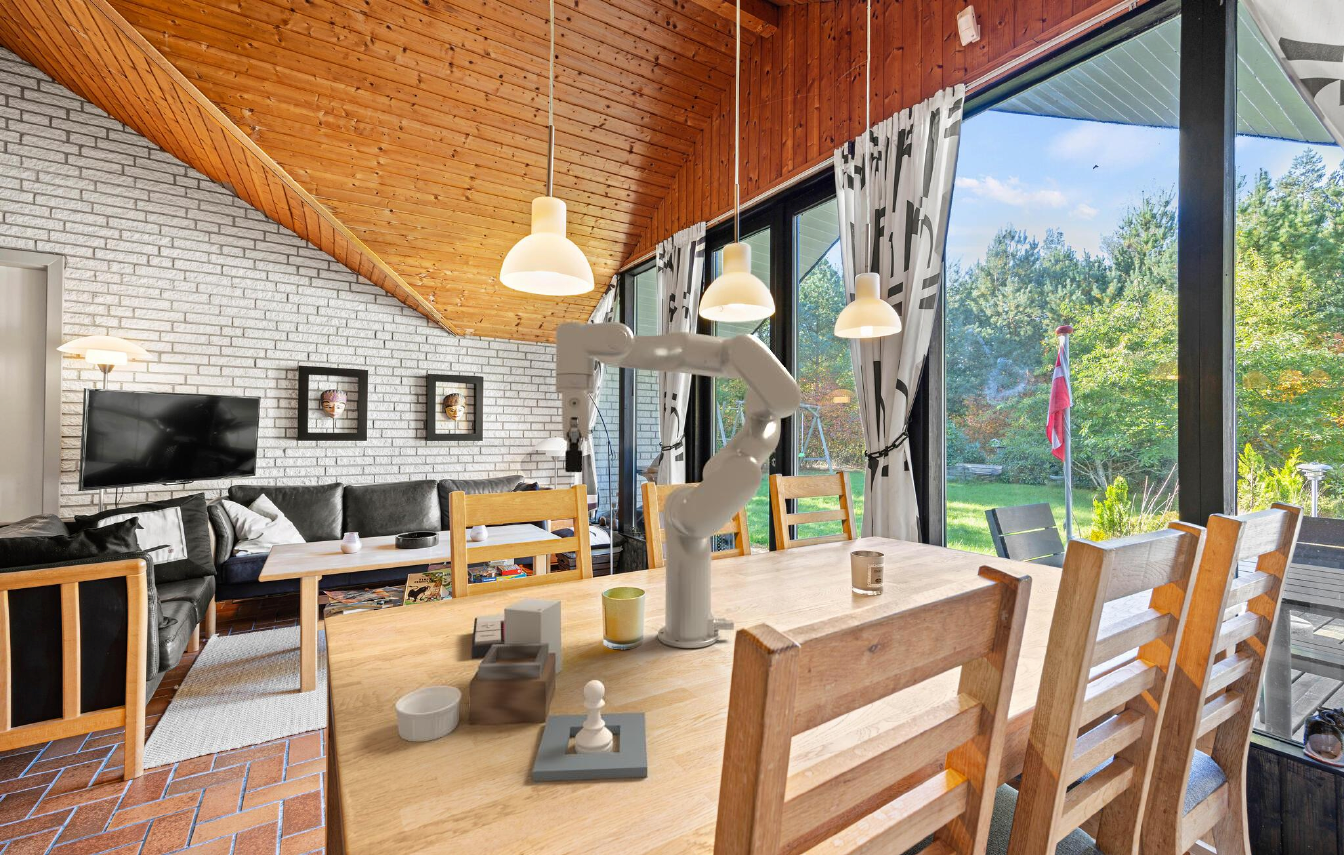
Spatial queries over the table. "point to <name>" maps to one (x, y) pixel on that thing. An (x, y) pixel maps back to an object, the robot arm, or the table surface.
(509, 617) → the supplement box
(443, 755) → the table surface
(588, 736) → the chess pawn
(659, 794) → the table surface
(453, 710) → the ramekin
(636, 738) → the board
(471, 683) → the riser socket
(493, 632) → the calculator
